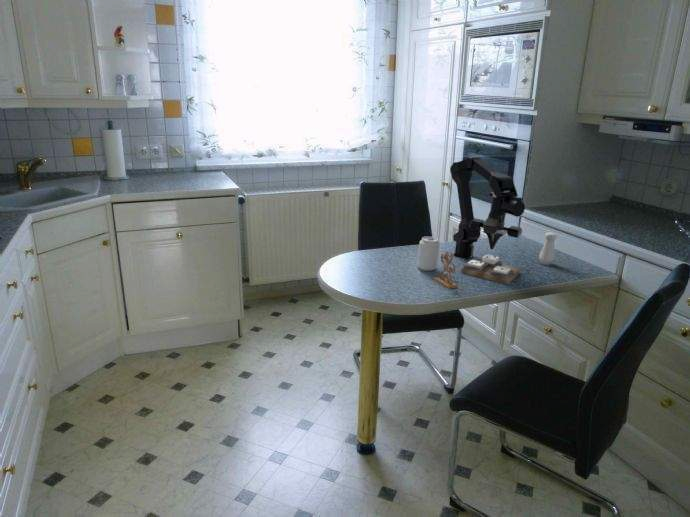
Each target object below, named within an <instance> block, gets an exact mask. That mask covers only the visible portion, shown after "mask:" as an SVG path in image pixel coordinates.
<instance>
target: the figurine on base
mask: <svg viewBox="0 0 690 517" xmlns="http://www.w3.org/2000/svg"><path fill="white" fill-rule="evenodd" d="M453 260H454V255H453V253H452V252H451V251H446V252H445V253H442V254H441V255H440V261H441V263H442V264H443V265H444V266H443V270H442V272H441V273H440V275H439V276H436V277H434V278H433V281H435V282H436V283H437V284H439V285H442V286H443V287H445V288H446V289H450V290H451V289H456V288H458V284H456V283H455V282H453V278H452V274H455V273H456V266H455V264H454V263H453V262H452V261H453ZM450 265H451V266H450ZM445 272H446V273H445ZM444 273H445V274H444Z"/></svg>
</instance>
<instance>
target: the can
mask: <svg viewBox="0 0 690 517" xmlns="http://www.w3.org/2000/svg"><path fill="white" fill-rule="evenodd" d="M440 245H441V244H440V242H439V239H438V238H437V237H434V236H423V237H421V240H420V241H419V245H418V254H417V263H416V265H417V267H418V268H419V270H422V271H425V272H432V271H434V270H436V269H437V267H438V259H439V252H440Z"/></svg>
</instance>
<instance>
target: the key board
mask: <svg viewBox="0 0 690 517" xmlns="http://www.w3.org/2000/svg"><path fill="white" fill-rule="evenodd" d="M471 260H476V261H480V262H482V258H478V257H474V258H473V259H469V260H468V261H467V262H465V263H464V264H463V266H461V270H460V273H462V274H464V275H465V274H466V275H470V276H474V277H478V278H481V279H486V280H490V281H493V282H497V283H500V282H501V284H505V285H509V284H510V283H511V282H512V281H514V279H516V278H517V277H518V275H520V274H519V273H521V268H519V267H516V266H512V265H507V264H504V263H502V260H499V261H498V262H497V263H496V264H490V263H486V262H484V263H485V265H484V266H483V267H481V268H478V267H474V266H470V265H467V263H468V262H470V261H471ZM497 266H501V267H505V268H509V269H511V271H510V273H509V274H503V273H499V272H495V271H493V269H494V268H495V267H497Z"/></svg>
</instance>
